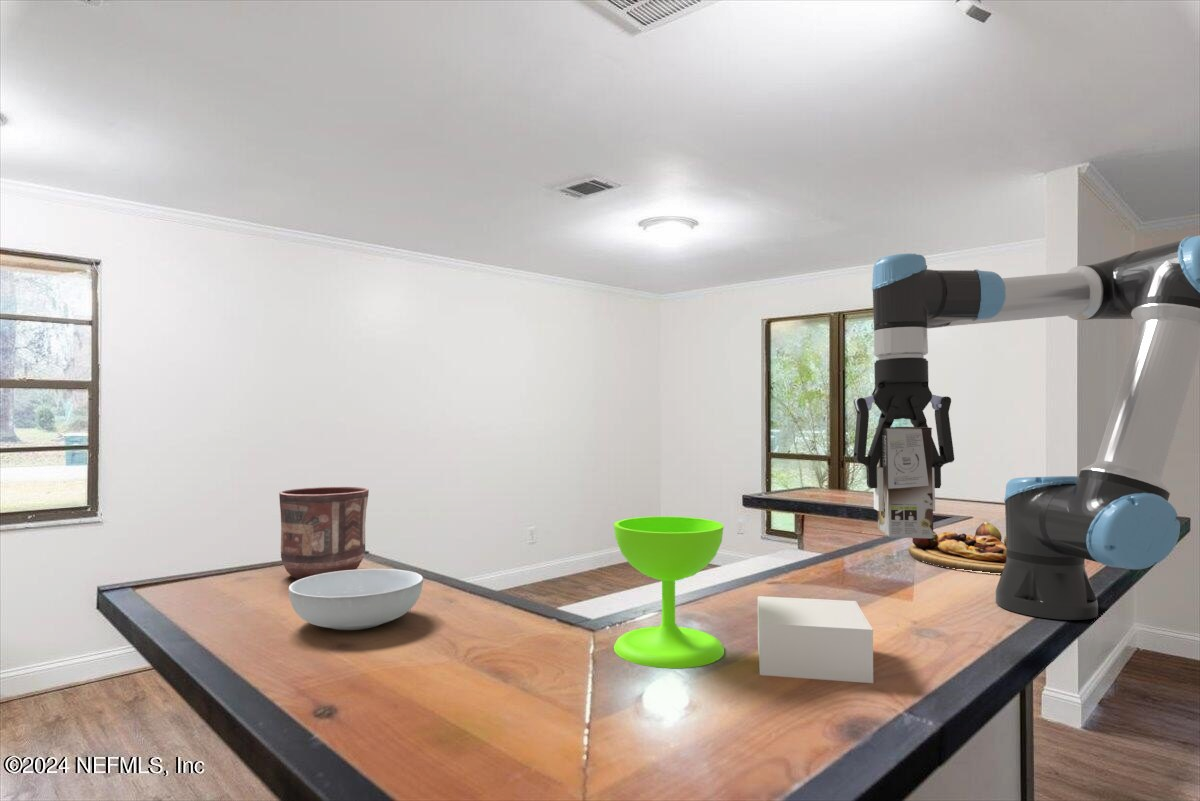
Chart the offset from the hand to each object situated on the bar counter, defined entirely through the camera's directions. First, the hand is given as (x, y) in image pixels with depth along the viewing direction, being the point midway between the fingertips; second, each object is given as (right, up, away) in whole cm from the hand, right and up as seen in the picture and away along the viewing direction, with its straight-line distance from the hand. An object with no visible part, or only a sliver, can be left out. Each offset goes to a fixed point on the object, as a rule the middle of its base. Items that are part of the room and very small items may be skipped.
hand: (904, 509), depth 106 cm
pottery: (-105, -21, +43) cm, 115 cm away
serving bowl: (-86, -20, +9) cm, 89 cm away
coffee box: (0, -4, 0) cm, 4 cm away
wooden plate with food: (+44, -22, +58) cm, 76 cm away
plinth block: (-17, -20, -9) cm, 27 cm away
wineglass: (-36, -20, -4) cm, 41 cm away
